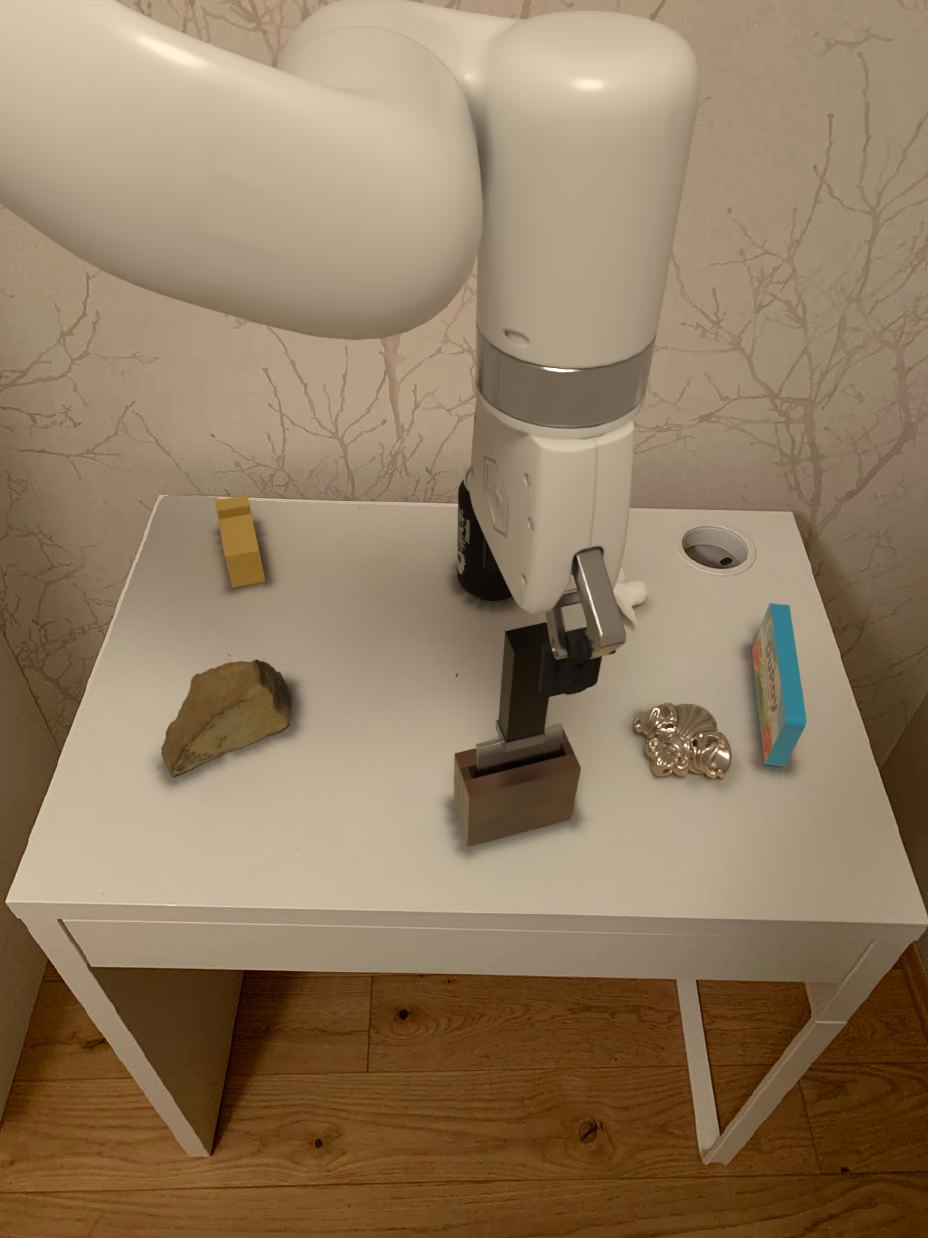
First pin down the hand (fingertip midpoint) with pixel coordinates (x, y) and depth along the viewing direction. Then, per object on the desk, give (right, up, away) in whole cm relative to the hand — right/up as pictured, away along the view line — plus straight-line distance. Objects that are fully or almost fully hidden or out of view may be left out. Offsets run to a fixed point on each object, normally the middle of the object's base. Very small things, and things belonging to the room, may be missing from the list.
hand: (536, 623), depth 52 cm
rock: (-23, -9, +20) cm, 32 cm away
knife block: (-1, -14, +16) cm, 21 cm away
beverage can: (-1, +4, +32) cm, 32 cm away
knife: (-1, -14, +16) cm, 21 cm away
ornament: (+13, -10, +20) cm, 25 cm away
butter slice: (-26, +8, +35) cm, 44 cm away
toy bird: (+10, +1, +30) cm, 32 cm away
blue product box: (+21, -7, +23) cm, 32 cm away
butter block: (-24, +5, +33) cm, 41 cm away
